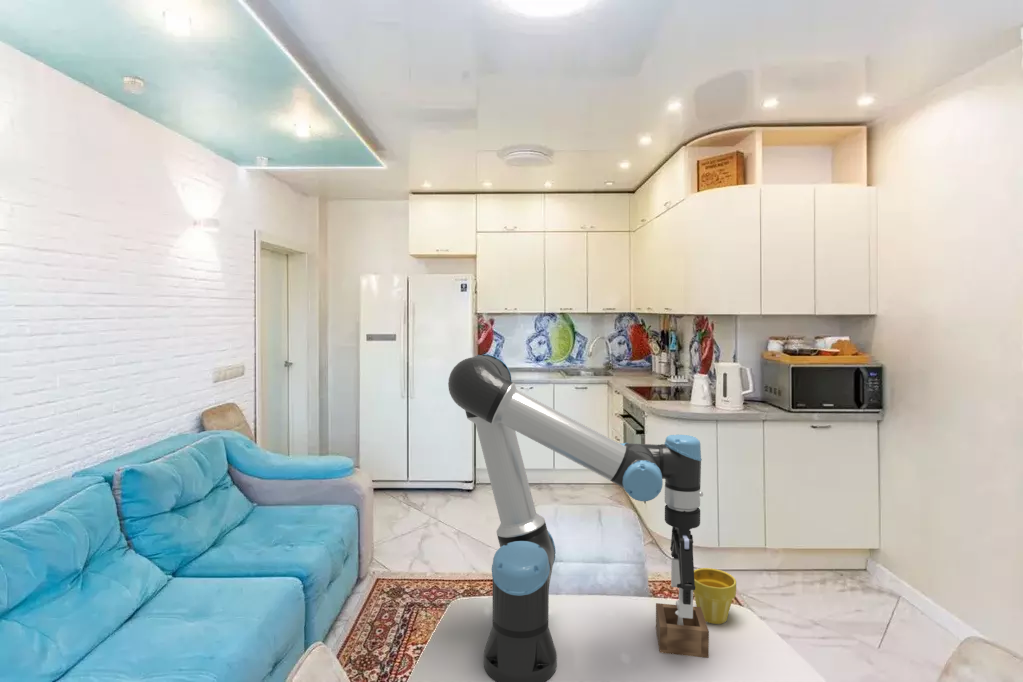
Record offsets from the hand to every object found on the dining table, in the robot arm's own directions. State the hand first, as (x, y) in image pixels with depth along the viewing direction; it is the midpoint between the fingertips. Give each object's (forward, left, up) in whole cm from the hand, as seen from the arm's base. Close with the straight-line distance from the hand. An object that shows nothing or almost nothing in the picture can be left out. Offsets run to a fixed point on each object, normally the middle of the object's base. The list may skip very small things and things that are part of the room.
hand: (681, 601), depth 120 cm
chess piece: (0, 0, -9) cm, 9 cm away
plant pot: (+9, +12, -9) cm, 18 cm away
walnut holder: (0, 0, -9) cm, 9 cm away
